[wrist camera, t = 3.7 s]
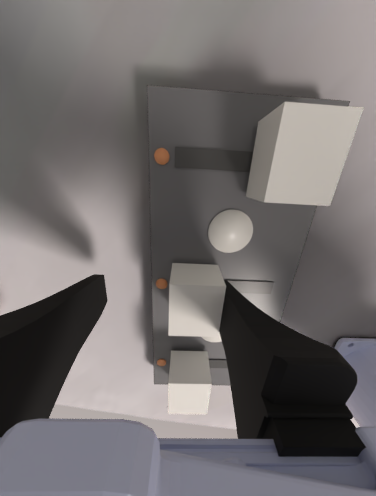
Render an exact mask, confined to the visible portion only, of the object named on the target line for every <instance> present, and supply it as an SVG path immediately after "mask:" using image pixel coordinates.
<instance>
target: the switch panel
mask: <svg viewBox="0 0 376 496" xmlns="http://www.w3.org/2000/svg"><path fill="white" fill-rule="evenodd" d="M147 92H148V137H149V181H150V225H151V270H152V314H153V359H154V384H168V383H169V370H170V358H171V351H207V352H208V359H209V367H210V375H211V382H212V385H230V378H229V372H228V366H227V361H226V356H225V351H224V347H223V344H222V340H221V337H220V333H219V335H218V337H198V336H168V328H169V283H170V276H171V269H172V263H187V264H211V265H218V266H219V269H220V271H221V274H222V277H223V279H224V280H227V281H228V282H229V283H230V284H231V285H232V286H233V287H234V288H235V289H236V290H238V291H239V292H240V293H241V294H242V295H243V296H244V297H245V298H246V299H248V300H249V301H250V302H251V303H252V304H254V305H255V306H256V307H257V308H259V309H260V310H262V311H263V312H264V313H266V314H267V315H269V316H270V317H272V318H273V319H275V320H277V321H278V322H280V320H281V317H282V314H283V311H284V308H285V304H286V301H287V298H288V295H289V292H290V289H291V286H292V282H293V279H294V276H295V273H296V270H297V267H298V263H299V260H300V257H301V254H302V251H303V248H304V245H305V241H306V238H307V235H308V232H309V229H310V226H311V223H312V219H313V216H314V213H315V210H316V207H317V205H302V204H284V203H266V202H261V201H258V200H255V199H252V198H248V197H246V192H247V186H248V180H249V174H250V168H251V163H252V157H253V151H254V145H255V139H256V133H257V127H258V122H259V121H260V120H261V119H263V118H264V117H265V116H267V115H268V114H269V113H271V112H272V111H273V110H274V109H276V108H277V107H278V106H280V105H281V104H282V103H284V102H297V103H309V104H322V105H335V106H349V103H350V101H342V100H329V99H316V98H304V97H291V96H278V95H266V94H253V93H240V92H228V91H215V90H202V89H190V88H177V87H164V86H152V85H147Z"/></svg>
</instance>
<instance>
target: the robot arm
mask: <svg viewBox="0 0 376 496" xmlns="http://www.w3.org/2000/svg"><path fill="white" fill-rule="evenodd" d="M224 282H225V284H226V291H225V297H224V304H223V310H222V316H221V322H220V329H219V333H220V337H221V340H222V344H223V347H224V351H225V356H226V361H227V366H228V372H229V378H230V385H231V391H232V398H233V405H234V412H235V419H236V427H237V434H238V439H185V438H184V439H183V438H182V439H180V438H179V439H177V438H157V437H156V434H155V433H154V431H153V429H152V428H150V427H148V426H146V425H144V424H142V423H140V422H136V421H130V420H124V419H49V416H50V414H51V411H52V409H53V407H54V404H55V402H56V400H57V397H58V395H59V393H60V390H61V388H62V386H63V384H64V382H65V379H66V377H67V375H68V373H69V371H70V369H71V367H72V365H73V363H74V361H75V359H76V356H77V354H78V353H79V351H80V349H81V347H82V346H83V344H84V342H85V341H86V339H87V337H88V336H89V334H90V333H91V331H92V329H93V328H94V326H95V324H96V323H97V321H98V319H99V318H100V316H101V314H102V312H103V310H104V308H105V305H106V303H107V295H106V287H105V280H104V275H92V276H90V277H88V278H86V279H84V280H82V281H80V282H78V283H76V284H74V285H72V286H70V287H68V288H66V289H64V290H62V291H60V292H58V293H56V294H54V295H52V296H50V297H48V298H45V299H43V300H41V301H39V302H36V303H34V304H31V305H29V306H26V307H24V308H21V309H18V310H16V311H13V312H10V313H7V314H4V315H1V316H0V496H376V339H367V338H341V339H339V340H338V341H337V343H336V345H335V347H334V348H332V347H330V346H327V345H325V344H323V343H320V342H318V341H315V340H313V339H311V338H309V337H307V336H304V335H302V334H300V333H298V332H296V331H294V330H293V329H291V328H289V327H287V326H285V325H283V324H282V323H280V322H278V321H277V320H275V319H273V318H272V317H270V316H269V315H267V314H266V313H264V312H263V311H262V310H260V309H259V308H257V307H256V306H255V305H254V304H252V303H251V302H250V301H249V300H248V299H246V298H245V297H244V296H243V295H242V294H241V293H240V292H239V291H238V290H236V289H235V288H234V287H233V286H232V285H231V284H230V283H229V282H228V281H227V280H224ZM353 417H354V419H355V420H356V421H357V423H358V424H359V426H360V427H358V428H356V427H355V426H354V424H353V423H352V421H351V420H350V419H352V418H353Z"/></svg>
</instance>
